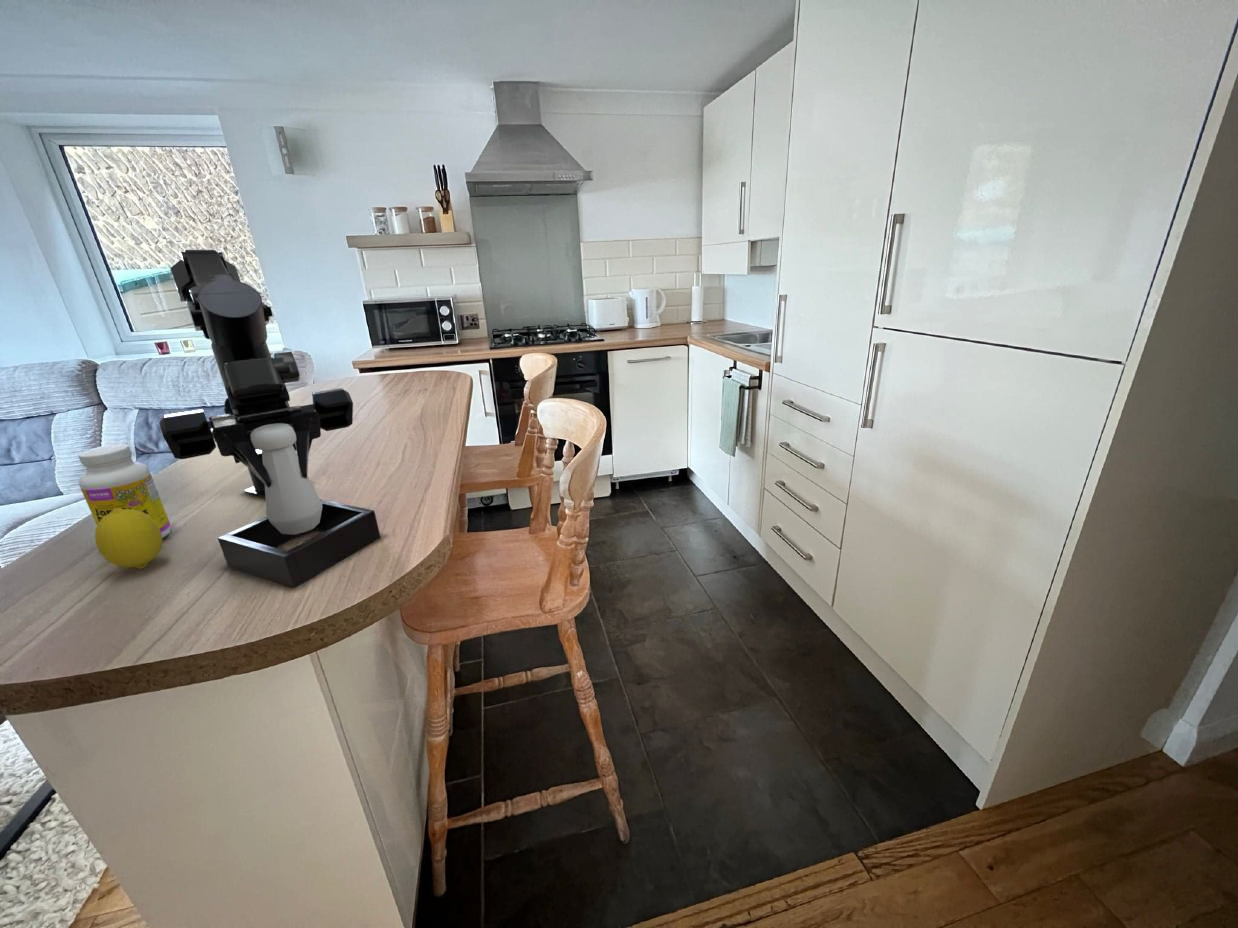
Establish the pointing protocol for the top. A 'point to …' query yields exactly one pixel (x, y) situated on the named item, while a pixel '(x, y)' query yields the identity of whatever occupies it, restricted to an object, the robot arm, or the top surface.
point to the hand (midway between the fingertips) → (287, 481)
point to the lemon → (128, 538)
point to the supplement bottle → (120, 485)
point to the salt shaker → (286, 481)
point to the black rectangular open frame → (297, 565)
